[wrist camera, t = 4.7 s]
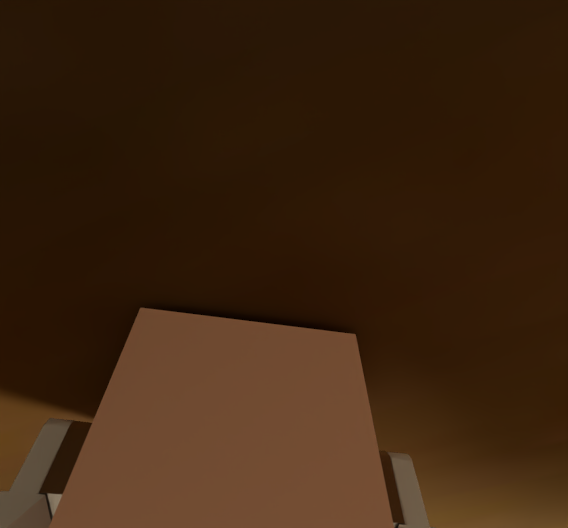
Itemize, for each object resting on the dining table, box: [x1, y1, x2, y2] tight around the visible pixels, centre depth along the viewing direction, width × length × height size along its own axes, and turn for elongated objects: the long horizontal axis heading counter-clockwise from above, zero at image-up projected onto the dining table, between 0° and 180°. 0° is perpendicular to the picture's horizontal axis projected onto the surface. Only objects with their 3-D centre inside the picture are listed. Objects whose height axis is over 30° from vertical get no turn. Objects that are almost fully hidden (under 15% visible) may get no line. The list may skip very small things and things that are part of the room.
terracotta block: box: [49, 308, 394, 528], centre depth 10 cm, size 5×5×5 cm
